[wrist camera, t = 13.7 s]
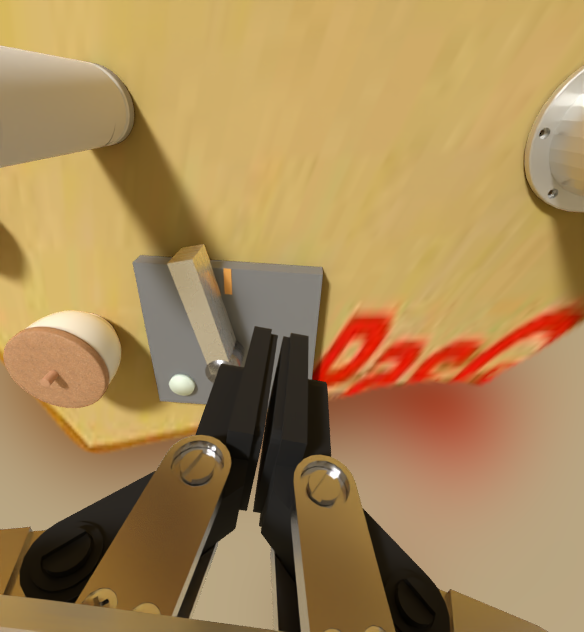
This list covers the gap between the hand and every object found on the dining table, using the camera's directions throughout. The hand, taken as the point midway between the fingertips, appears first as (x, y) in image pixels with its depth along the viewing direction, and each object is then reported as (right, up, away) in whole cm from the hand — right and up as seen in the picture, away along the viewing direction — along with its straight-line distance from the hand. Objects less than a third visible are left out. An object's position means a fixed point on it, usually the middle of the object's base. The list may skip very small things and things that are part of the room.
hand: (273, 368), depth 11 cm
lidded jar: (-25, 0, +34) cm, 42 cm away
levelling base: (-7, -1, +33) cm, 33 cm away
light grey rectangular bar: (-8, +3, +28) cm, 29 cm away
